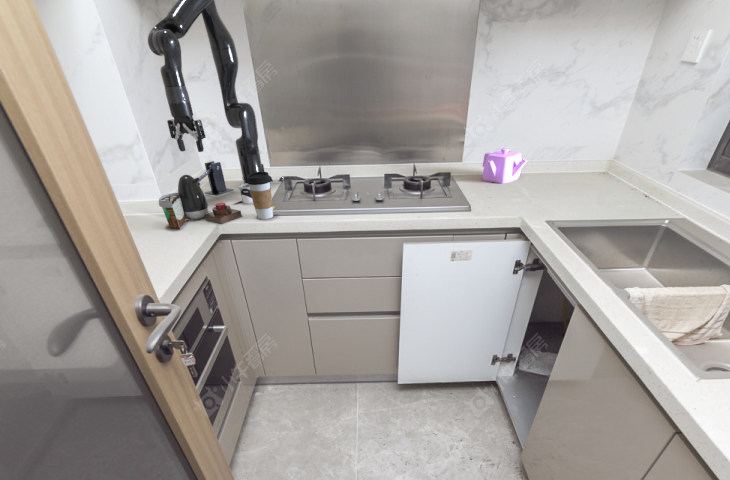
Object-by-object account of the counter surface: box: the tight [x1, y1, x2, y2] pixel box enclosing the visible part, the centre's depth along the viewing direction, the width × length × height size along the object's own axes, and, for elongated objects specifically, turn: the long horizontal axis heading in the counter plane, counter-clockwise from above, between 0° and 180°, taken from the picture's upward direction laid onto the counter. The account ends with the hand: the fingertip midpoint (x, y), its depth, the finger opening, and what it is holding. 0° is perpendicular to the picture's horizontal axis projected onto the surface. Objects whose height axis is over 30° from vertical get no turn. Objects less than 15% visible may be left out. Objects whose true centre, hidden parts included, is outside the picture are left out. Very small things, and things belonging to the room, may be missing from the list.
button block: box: [204, 204, 243, 225], centre depth 159 cm, size 10×9×4 cm
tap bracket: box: [204, 160, 235, 197], centre depth 184 cm, size 10×8×13 cm
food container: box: [158, 192, 189, 230], centre depth 153 cm, size 12×6×10 cm, turn 3°
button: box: [214, 202, 227, 209], centre depth 157 cm, size 4×4×2 cm
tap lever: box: [197, 163, 213, 187], centre depth 179 cm, size 14×5×2 cm, turn 147°
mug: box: [238, 183, 254, 206], centre depth 174 cm, size 10×7×7 cm, turn 87°
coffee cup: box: [247, 171, 274, 220], centre depth 155 cm, size 8×8×15 cm
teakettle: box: [482, 147, 528, 184], centre depth 187 cm, size 17×17×12 cm
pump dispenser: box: [177, 174, 209, 220], centre depth 158 cm, size 10×10×15 cm
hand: (192, 151), depth 161 cm, fingers open, 8 cm apart
